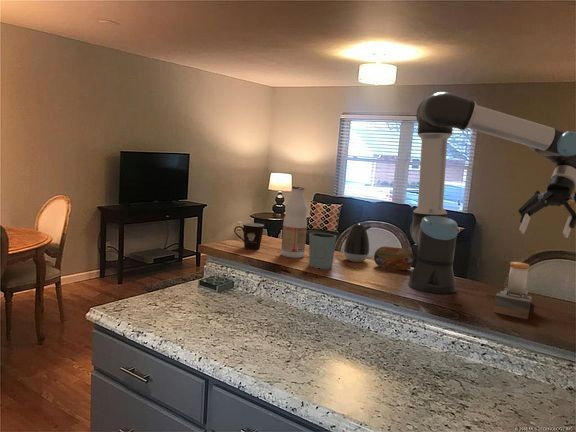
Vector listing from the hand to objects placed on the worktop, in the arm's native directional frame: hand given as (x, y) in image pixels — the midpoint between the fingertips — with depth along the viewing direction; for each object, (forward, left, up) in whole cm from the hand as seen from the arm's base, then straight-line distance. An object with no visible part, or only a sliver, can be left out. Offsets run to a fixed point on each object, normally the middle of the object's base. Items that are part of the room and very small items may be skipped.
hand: (542, 233), depth 155 cm
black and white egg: (-59, -27, -22) cm, 68 cm away
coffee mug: (-89, -60, -22) cm, 109 cm away
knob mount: (+4, -17, -22) cm, 28 cm away
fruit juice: (-72, -49, -22) cm, 90 cm away
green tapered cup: (-54, -48, -22) cm, 75 cm away
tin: (-45, -20, -22) cm, 54 cm away
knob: (+2, -12, -19) cm, 23 cm away
